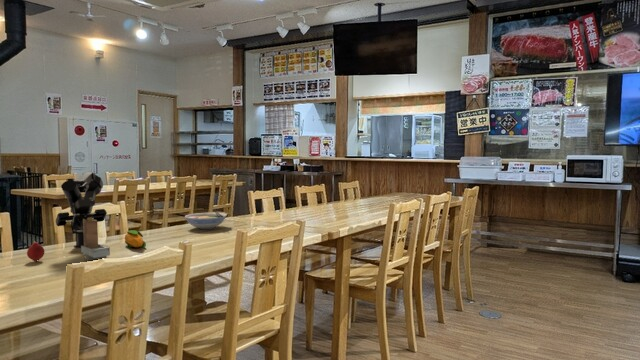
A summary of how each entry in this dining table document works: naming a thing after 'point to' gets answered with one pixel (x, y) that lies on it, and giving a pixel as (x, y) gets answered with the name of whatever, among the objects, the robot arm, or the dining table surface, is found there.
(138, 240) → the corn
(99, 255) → the grey piece
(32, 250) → the red oval piece
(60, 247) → the dining table surface
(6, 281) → the dining table surface
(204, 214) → the ramen bowl
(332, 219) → the dining table surface
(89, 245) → the brown rectangular block
